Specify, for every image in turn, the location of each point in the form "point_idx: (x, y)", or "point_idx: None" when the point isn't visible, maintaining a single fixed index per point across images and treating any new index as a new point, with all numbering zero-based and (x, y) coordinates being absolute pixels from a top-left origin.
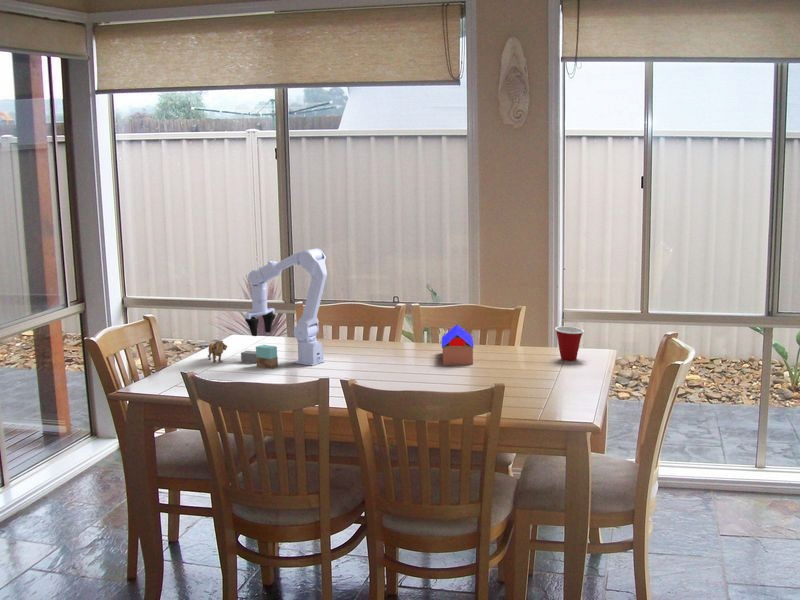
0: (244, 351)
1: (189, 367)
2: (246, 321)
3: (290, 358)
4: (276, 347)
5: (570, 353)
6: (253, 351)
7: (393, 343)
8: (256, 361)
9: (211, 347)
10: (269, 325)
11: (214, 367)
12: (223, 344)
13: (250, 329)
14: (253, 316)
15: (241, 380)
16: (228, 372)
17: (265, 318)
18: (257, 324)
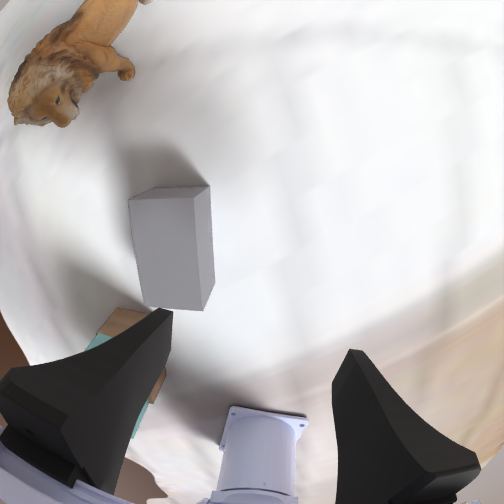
0: (165, 201)
1: (26, 43)
2: (27, 375)
3: (309, 369)
4: (132, 435)
5: None
6: (189, 259)
7: (483, 456)
8: (105, 322)
9: (76, 12)
10: (341, 438)
11: (42, 132)
12: (35, 117)
13: (119, 338)
14: (68, 496)
15: (9, 326)
16: (22, 243)
17: (377, 472)
18: (123, 446)
